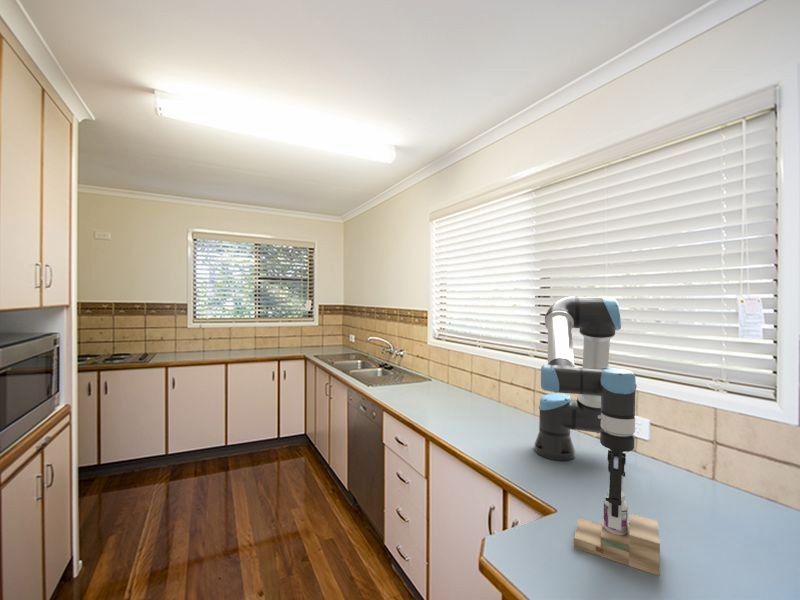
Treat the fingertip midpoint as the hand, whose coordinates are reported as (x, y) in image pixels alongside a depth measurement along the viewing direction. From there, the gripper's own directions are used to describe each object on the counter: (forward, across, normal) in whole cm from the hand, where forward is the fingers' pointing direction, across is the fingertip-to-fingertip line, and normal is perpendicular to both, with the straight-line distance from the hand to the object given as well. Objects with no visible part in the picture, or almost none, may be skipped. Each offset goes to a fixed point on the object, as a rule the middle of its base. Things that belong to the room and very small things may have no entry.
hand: (615, 513), depth 95 cm
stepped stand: (+9, 0, 0) cm, 9 cm away
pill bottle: (+4, 0, 0) cm, 4 cm away
